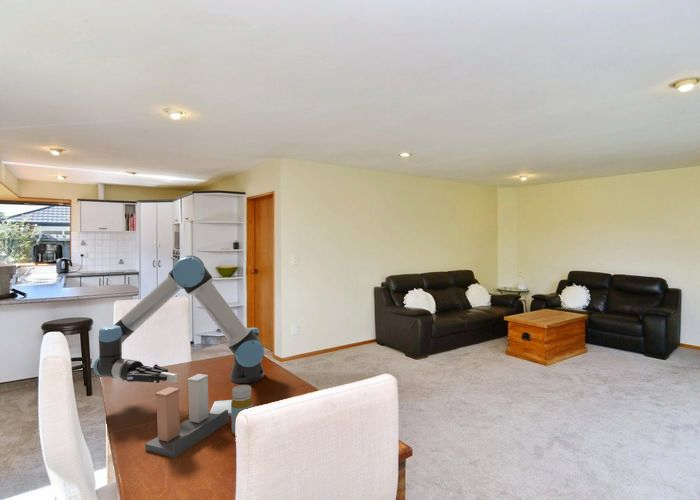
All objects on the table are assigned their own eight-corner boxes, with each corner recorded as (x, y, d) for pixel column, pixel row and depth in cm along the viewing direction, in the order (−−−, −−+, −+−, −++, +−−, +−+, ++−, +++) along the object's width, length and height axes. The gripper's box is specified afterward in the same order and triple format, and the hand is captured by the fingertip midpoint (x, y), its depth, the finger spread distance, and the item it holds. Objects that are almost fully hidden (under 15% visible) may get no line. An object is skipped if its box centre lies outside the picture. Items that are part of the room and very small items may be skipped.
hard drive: (231, 413, 144) (235, 399, 156) (207, 414, 142) (214, 400, 155) (231, 417, 144) (235, 403, 156) (208, 419, 143) (214, 404, 155)
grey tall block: (199, 414, 140) (198, 373, 140) (209, 416, 138) (208, 375, 138) (188, 421, 135) (187, 378, 135) (198, 423, 133) (197, 380, 133)
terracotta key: (170, 431, 128) (169, 386, 128) (181, 433, 126) (179, 388, 126) (157, 439, 123) (155, 393, 123) (167, 442, 121) (165, 395, 121)
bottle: (231, 439, 127) (230, 393, 127) (232, 429, 134) (230, 385, 133) (254, 435, 129) (252, 390, 128) (253, 425, 136) (251, 383, 135)
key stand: (201, 416, 143) (201, 404, 143) (228, 422, 139) (228, 409, 139) (145, 450, 121) (144, 436, 121) (174, 457, 117) (174, 443, 117)
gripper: (143, 374, 155) (189, 382, 146) (112, 385, 143) (160, 395, 134) (143, 355, 155) (189, 362, 146) (112, 365, 142) (160, 373, 134)
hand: (175, 378), depth 140 cm, fingers closed
